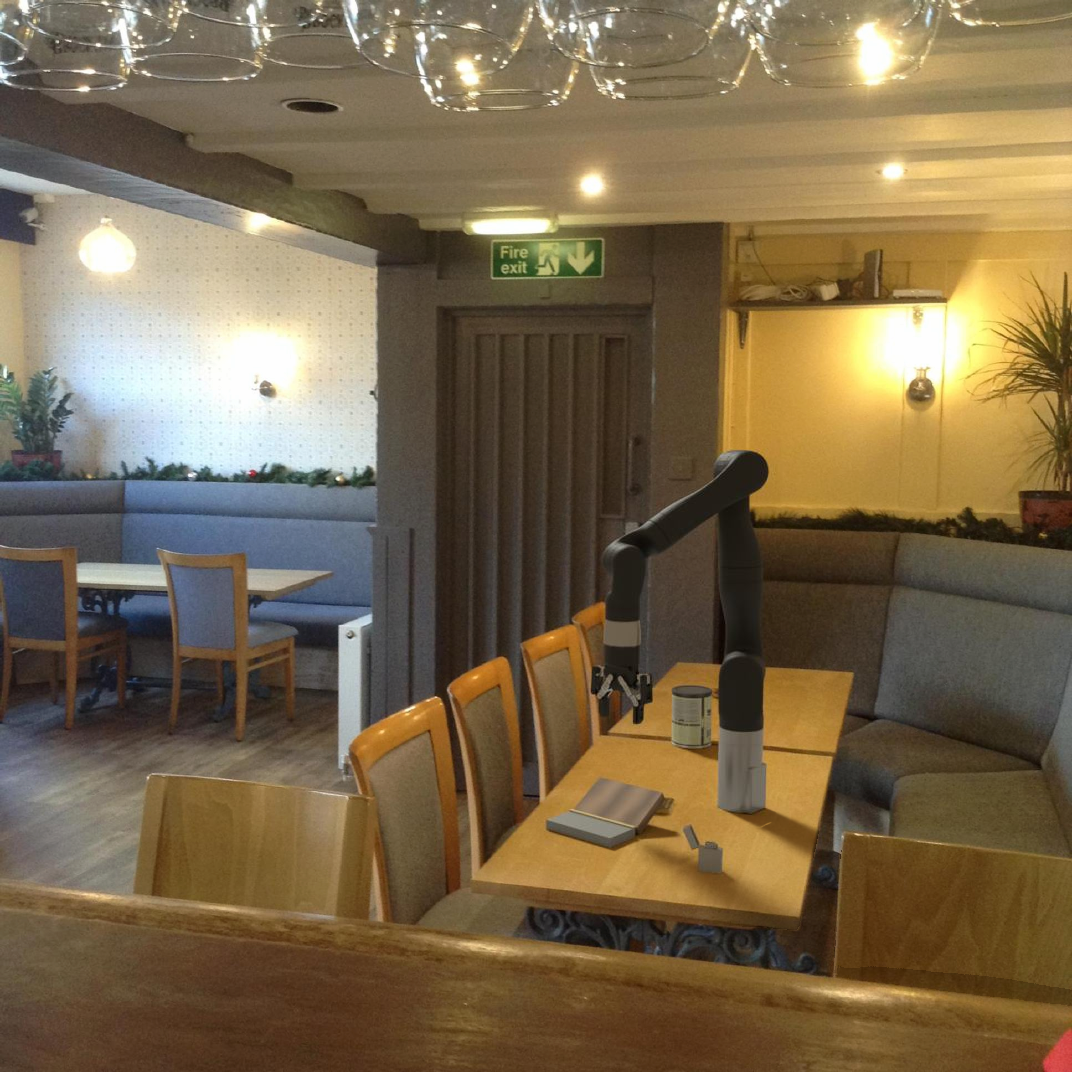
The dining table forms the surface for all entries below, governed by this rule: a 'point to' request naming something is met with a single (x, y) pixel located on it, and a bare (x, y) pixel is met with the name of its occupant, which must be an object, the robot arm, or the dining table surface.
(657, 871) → the dining table surface
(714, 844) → the lighter
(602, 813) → the walnut plank
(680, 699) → the coffee can
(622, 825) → the board
